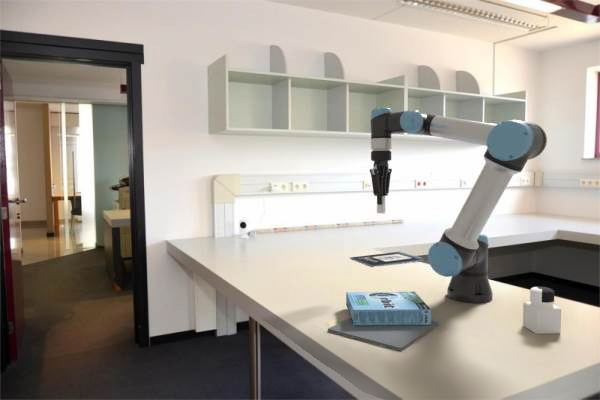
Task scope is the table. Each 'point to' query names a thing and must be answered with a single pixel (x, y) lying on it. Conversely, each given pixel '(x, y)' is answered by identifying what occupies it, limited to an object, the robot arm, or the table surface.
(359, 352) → the table surface
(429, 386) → the table surface
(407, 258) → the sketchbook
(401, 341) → the mat
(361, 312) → the gum box
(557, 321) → the medicine bottle
